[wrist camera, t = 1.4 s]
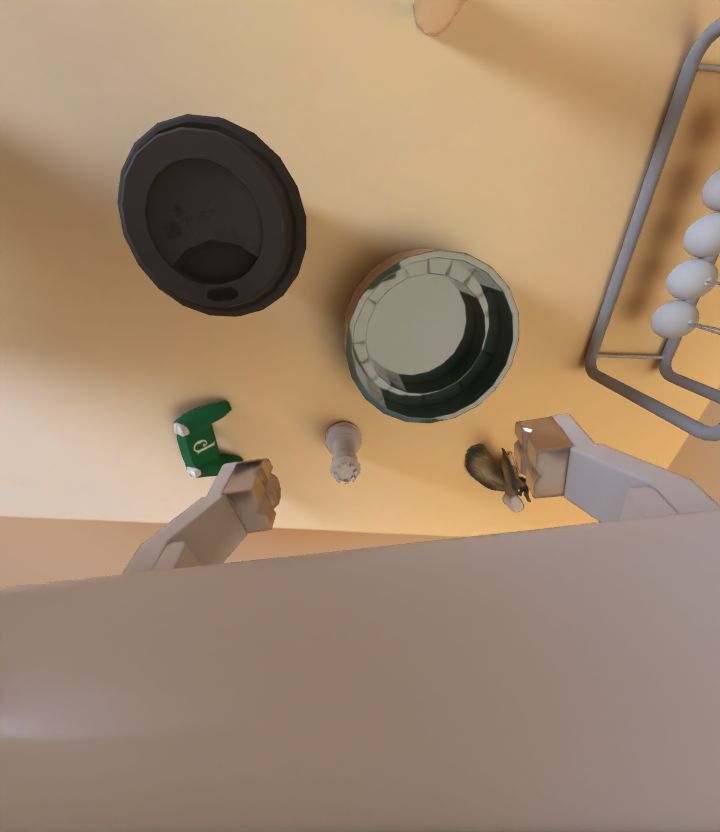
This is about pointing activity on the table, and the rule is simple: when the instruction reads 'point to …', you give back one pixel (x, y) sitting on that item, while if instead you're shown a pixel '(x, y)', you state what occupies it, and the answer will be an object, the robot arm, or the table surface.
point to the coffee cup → (212, 215)
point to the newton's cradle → (684, 279)
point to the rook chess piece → (344, 451)
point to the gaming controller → (202, 440)
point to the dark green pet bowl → (430, 334)
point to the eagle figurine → (498, 476)
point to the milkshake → (436, 14)
